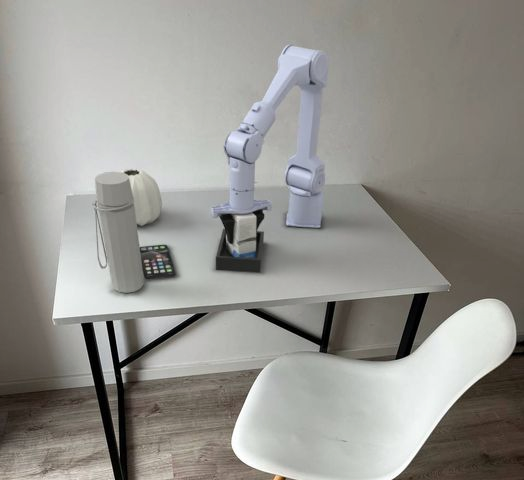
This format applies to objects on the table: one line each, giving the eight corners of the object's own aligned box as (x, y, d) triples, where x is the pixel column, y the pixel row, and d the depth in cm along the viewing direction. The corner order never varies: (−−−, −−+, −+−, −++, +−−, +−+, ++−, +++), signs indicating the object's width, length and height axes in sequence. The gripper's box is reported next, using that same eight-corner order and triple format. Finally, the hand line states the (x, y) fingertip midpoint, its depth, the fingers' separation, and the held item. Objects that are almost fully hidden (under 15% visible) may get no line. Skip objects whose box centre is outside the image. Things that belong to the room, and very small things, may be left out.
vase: (102, 217, 142) (94, 169, 134) (146, 205, 150) (141, 158, 141) (128, 236, 135) (121, 186, 126) (173, 222, 142) (169, 174, 134)
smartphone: (167, 244, 131) (176, 274, 120) (167, 246, 132) (176, 276, 121) (137, 247, 129) (144, 277, 118) (137, 249, 130) (144, 280, 119)
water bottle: (145, 276, 120) (132, 170, 104) (143, 295, 115) (129, 185, 98) (105, 277, 119) (85, 170, 103) (101, 296, 113) (80, 186, 97)
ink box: (256, 260, 127) (258, 216, 120) (237, 264, 125) (238, 219, 118) (242, 244, 133) (243, 201, 125) (225, 248, 131) (224, 204, 124)
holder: (263, 243, 135) (264, 231, 133) (259, 272, 124) (260, 260, 122) (223, 241, 135) (223, 228, 133) (216, 269, 124) (215, 257, 122)
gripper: (264, 177, 123) (262, 229, 132) (206, 183, 119) (207, 237, 127) (276, 188, 118) (272, 241, 127) (216, 195, 114) (216, 250, 122)
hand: (240, 240), depth 127 cm, fingers closed on ink box, 5 cm apart
